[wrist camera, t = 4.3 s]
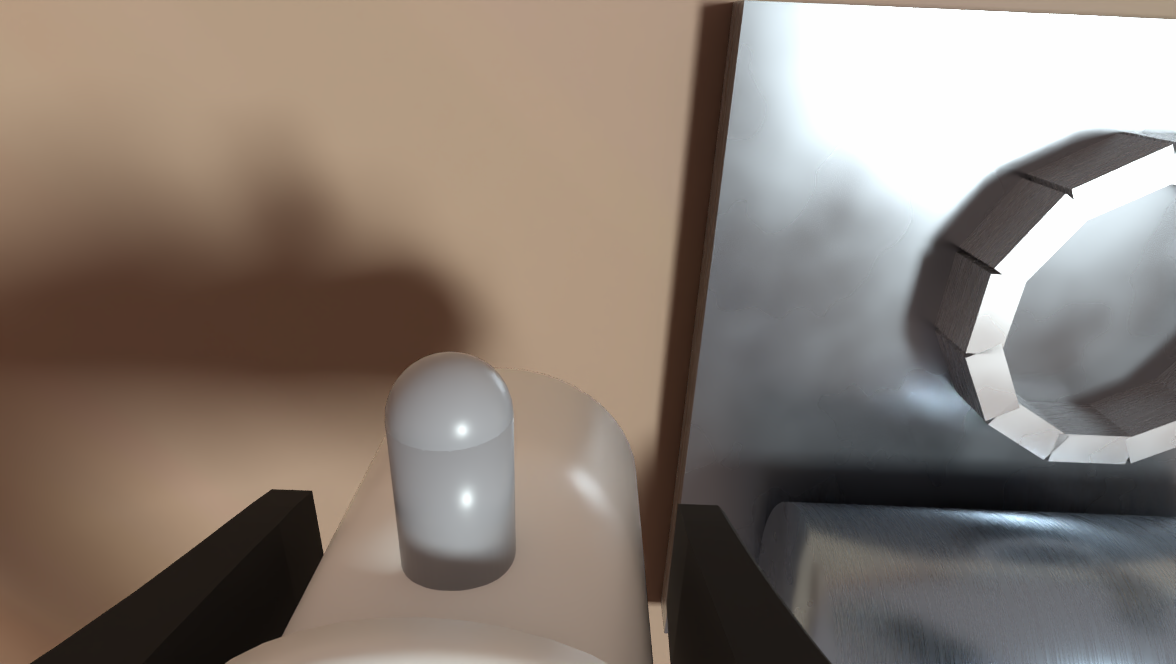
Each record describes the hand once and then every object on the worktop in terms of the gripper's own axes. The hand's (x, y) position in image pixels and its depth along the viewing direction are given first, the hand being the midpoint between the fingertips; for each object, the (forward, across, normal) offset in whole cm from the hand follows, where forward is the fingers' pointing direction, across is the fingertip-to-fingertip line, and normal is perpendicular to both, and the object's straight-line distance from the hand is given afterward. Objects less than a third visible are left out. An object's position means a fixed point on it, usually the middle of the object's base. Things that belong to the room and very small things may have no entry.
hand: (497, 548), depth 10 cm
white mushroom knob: (+2, 0, 0) cm, 2 cm away
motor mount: (+8, -13, +1) cm, 15 cm away
